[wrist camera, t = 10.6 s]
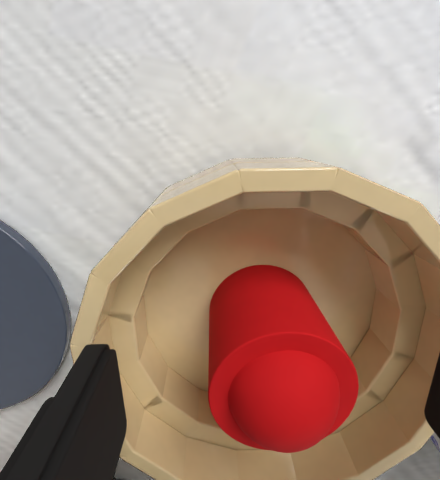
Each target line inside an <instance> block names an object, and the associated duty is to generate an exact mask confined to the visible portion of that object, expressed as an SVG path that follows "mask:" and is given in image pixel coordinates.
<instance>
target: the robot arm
mask: <svg viewBox="0 0 440 480" xmlns="http://www.w3.org/2000/svg"><path fill="white" fill-rule="evenodd" d="M424 414H425V418H426V420H427V422H428V424H429V425H430V427H431V428H432V429H433V431H434V432H435V433H436V435H437V436H438V437H439V439H440V353H439V357H438V360H437V364H436V368H435V371H434V375H433V379H432V383H431V386H430V390H429V394H428V397H427V401H426V405H425V409H424ZM126 429H127V419H126V412H125V406H124V399H123V393H122V386H121V380H120V373H119V367H118V360H117V354H116V350H115V349H110V347H109V345H108V344H89V345H86V346H85V347H84V348H83V350H82V352H81V353H80V355H79V357H78V358H77V360H76V362H75V363H74V365H73V367H72V368H71V370H70V372H69V373H68V375H67V377H66V379H65V380H64V382H63V384H62V385H61V387H60V389H59V390H58V392H57V394H56V395H55V397H51V398H49V399H47V400H46V401H45V403H44V404H43V405H42V407H41V408H40V410H39V411H38V413H37V415H36V416H35V418H34V419H33V421H32V423H31V424H30V426H29V427H28V429H27V431H26V432H25V434H24V436H23V437H22V439H21V440H20V442H19V444H18V445H17V447H16V448H15V450H14V452H13V453H12V455H11V457H10V458H9V460H8V461H7V463H6V465H5V466H4V468H3V469H2V471H1V473H0V480H113V477H114V474H115V470H116V467H117V463H118V460H119V456H120V453H121V449H122V446H123V442H124V439H125V435H126Z"/></svg>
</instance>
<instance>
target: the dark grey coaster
mask: <svg viewBox="0 0 440 480" xmlns="http://www.w3.org/2000/svg"><path fill="white" fill-rule="evenodd" d="M70 337H71V318H70V309H69V306H68V302H67V298H66V295H65V293H64V290H63V288H62V286H61V283H60V281H59V280H58V278H57V276H56V274H55V273H54V271H53V269H52V268H51V266H50V265H49V264H48V263H47V261H46V260H45V259H44V257H43V256H42V255H41V254H40V253H39V252H38V251H37V250H36V248H35V247H34V246H33V245H32V244H31V243H30V242H29V241H27V240H26V239H25V238H24V237H23V236H22V235H20V234H19V233H18V232H17V231H16V230H14V229H13V228H11V227H10V226H8V225H7V224H5V223H4V222H2V221H1V220H0V409H3V408H6V407H9V406H12V405H15V404H17V403H20V402H22V401H24V400H26V399H28V398H29V397H31V396H32V395H34V394H35V393H37V392H38V391H39V390H41V389H42V388H43V387H44V386H45V385H46V384H47V383H48V382H49V381H50V379H51V378H52V377H53V376H54V375H55V373H56V372H57V370H58V368H59V367H60V365H61V363H62V362H63V360H64V358H65V355H66V353H67V350H68V347H69V342H70Z"/></svg>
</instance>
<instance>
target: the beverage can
mask: <svg viewBox="0 0 440 480" xmlns="http://www.w3.org/2000/svg"><path fill="white" fill-rule="evenodd" d="M430 439H431V441H432V442H433V444H434V445H435V446H436V448H437V449H438V450H439V452H440V439H439V437H438V436H437V435H436V433H435V432H434V433H433V435H432V436H431V437H430Z"/></svg>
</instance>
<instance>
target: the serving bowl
mask: <svg viewBox="0 0 440 480" xmlns="http://www.w3.org/2000/svg"><path fill="white" fill-rule="evenodd" d="M253 265H273V266H277V267H281V268H283V269H286V270H288V271H290V272H291V273H293V274H294V275H296V276H297V277H298V278H299V279H300V280H301V281H302V282H303V284H304V285H305V287H306V288H307V290H308V291H309V293H310V294H311V296H312V298H313V299H314V301H315V303H316V304H317V306H318V307H319V309H320V311H321V312H322V314H323V315H324V317H325V319H326V320H327V322H328V323H329V325H330V327H331V328H332V330H333V331H334V333H335V335H336V336H337V338H338V340H339V341H340V343H341V344H342V346H343V348H344V349H345V351H346V352H347V354H348V356H349V357H350V359H351V360H352V362H353V364H354V366H355V369H356V372H357V375H358V384H359V388H358V396H357V400H356V403H355V405H354V408H353V410H352V411H351V413H350V415H349V416H348V418H347V419H346V420H345V421H344V423H343V424H342V425H341V426H340V427H339V428H338V429H336V430H335V431H334V432H333V433H331V434H330V435H328V436H327V437H325V438H324V439H322V440H321V441H320V442H318V443H317V444H316V445H314V446H312V447H310V448H308V449H306V450H303V451H299V452H294V453H282V452H276V451H272V450H262V449H257V448H253V447H250V446H247V445H244V444H242V443H240V442H238V441H236V440H235V439H233V438H231V437H230V436H229V435H227V434H226V433H225V432H224V431H223V430H222V429H221V428H220V427H219V425H218V424H217V422H216V421H215V419H214V417H213V415H212V413H211V410H210V407H209V401H208V367H209V309H210V302H211V299H212V296H213V294H214V292H215V290H216V289H217V287H218V286H219V285H220V284H221V282H222V281H223V280H224V279H226V278H227V277H228V276H229V275H231V274H232V273H234V272H236V271H238V270H240V269H242V268H245V267H249V266H253ZM89 344H108V345H109V347H110V349H115V350H116V354H117V360H118V367H119V373H120V380H121V386H122V393H123V399H124V406H125V412H126V419H127V429H126V435H125V439H124V442H123V446H122V449H121V453H120V456H119V457H120V458H122V460H124V461H126V462H127V463H129V464H131V465H132V466H134V467H135V468H137V469H139V470H140V471H142V472H144V473H145V474H147V475H149V476H150V477H152V478H154V479H155V480H373V479H375V478H377V477H378V476H380V475H381V474H383V473H384V472H386V471H387V470H389V469H391V468H392V467H394V466H395V465H397V464H398V463H400V462H401V461H403V460H405V459H406V458H408V457H409V456H411V455H412V454H414V453H415V452H417V451H419V450H420V449H421V447H423V446H424V444H425V443H426V442H427V441H428V440H429V438H430V437H431V436H432V435H433V433H434V431H433V429H432V428H431V427H430V425H429V424H428V422H427V420H426V418H425V414H424V409H425V405H426V401H427V397H428V394H429V390H430V386H431V383H432V379H433V375H434V371H435V368H436V364H437V360H438V357H439V353H440V225H439V224H438V222H437V221H436V220H435V219H434V218H433V216H432V215H431V214H430V213H429V211H428V210H427V209H426V208H425V207H424V205H423V204H421V203H420V202H419V201H417V200H414V199H412V198H410V197H407V196H405V195H403V194H400V193H398V192H396V191H393V190H391V189H389V188H386V187H384V186H382V185H379V184H377V183H375V182H372V181H370V180H368V179H365V178H363V177H361V176H358V175H356V174H354V173H351V172H349V171H347V170H344V169H342V168H339V167H335V166H331V165H327V164H323V163H319V162H315V161H311V160H307V159H303V158H241V159H231V160H227V161H224V162H222V163H220V164H218V165H215V166H213V167H211V168H209V169H206V170H204V171H202V172H200V173H197V174H195V175H193V176H191V177H188V178H186V179H184V180H182V181H179V182H177V183H175V184H173V185H170V186H169V187H168V188H166V189H165V190H164V191H163V192H162V193H161V194H160V195H159V196H158V198H157V199H156V200H155V201H154V202H153V203H152V204H151V205H150V206H149V207H148V209H147V210H146V211H145V212H144V213H143V214H142V215H141V216H140V217H139V218H138V219H137V221H136V222H135V223H134V224H133V225H132V226H131V227H130V228H129V229H128V230H127V231H126V233H125V234H124V235H123V236H122V237H121V238H120V239H119V240H118V242H117V243H116V244H115V245H114V246H113V247H112V248H111V249H110V251H109V252H108V253H107V254H106V255H105V256H104V257H103V258H102V259H101V261H100V262H99V263H98V264H97V265H96V266H95V267H94V268H93V270H92V271H91V273H90V274H89V278H88V281H87V285H86V288H85V292H84V295H83V299H82V302H81V306H80V309H79V312H78V316H77V319H76V323H75V326H74V330H73V333H72V337H71V340H70V349H71V354H72V358H73V363H75V362H76V360H77V358H78V357H79V355H80V353H81V352H82V350H83V348H84V347H85V346H86V345H89Z"/></svg>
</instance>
